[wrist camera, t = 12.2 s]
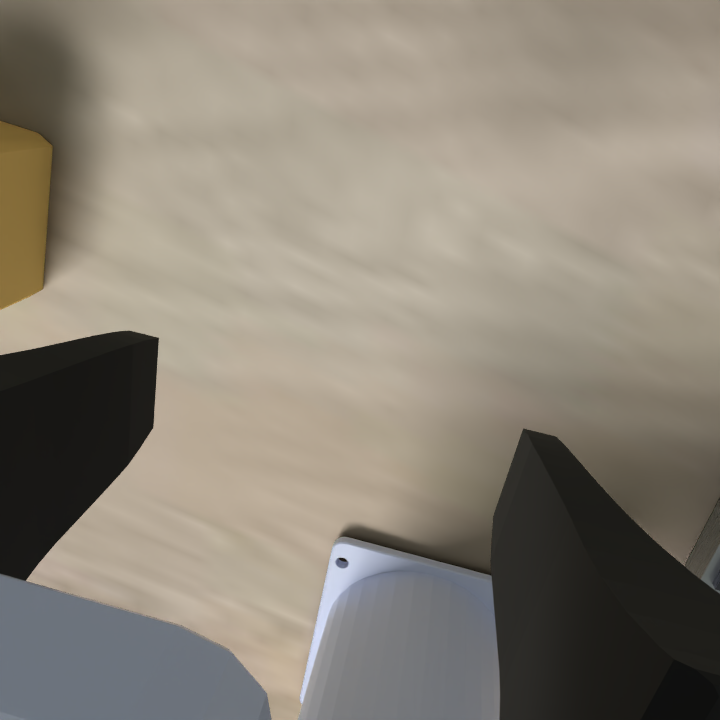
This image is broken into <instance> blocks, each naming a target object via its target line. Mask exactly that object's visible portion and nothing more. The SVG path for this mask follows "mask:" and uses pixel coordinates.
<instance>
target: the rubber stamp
mask: <svg viewBox="0 0 720 720" xmlns="http://www.w3.org/2000/svg"><path fill="white" fill-rule="evenodd" d="M52 150H53V146H52V145H51V144H50V143H49V142H47V141H46V140H45V139H44V138H43V137H42V136H41V135H40V134H39V133H36V132H33V131H30V130H27V129H24V128H21V127H18V126H15V125H12V124H9V123H6V122H3V121H0V310H1V309H4V308H6V307H8V306H10V305H12V304H14V303H17V302H19V301H21V300H23V299H25V298H28V297H30V296H31V295H33V294H35V293H37V292H39V291H40V290H42V289H43V280H44V265H45V251H46V237H47V222H48V208H49V194H50V179H51V165H52Z"/></svg>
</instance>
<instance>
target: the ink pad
mask: <svg viewBox="0 0 720 720" xmlns="http://www.w3.org/2000/svg"><path fill="white" fill-rule="evenodd" d="M685 566H686V568H687V569H688V570H689V571H691V572H692V573H693V574H694V575H696V576H697V577H698V578H700V579H701V580H702V581H703V582H705V583H706V584H707V585H709V586H710V587H711V588H713V589H714V590H715V591H717V592H718V593H720V499H719V501H718V503H717V505H716V507H715V509H714V510H713V512H712V514H711V516H710V518H709V520H708V522H707V524H706V526H705V528H704V530H703V532H702V534H701V536H700V537H699V539H698V541H697V543H696V545H695V547H694V549H693V551H692V553H691V555H690V557H689V559H688V561H687V563H686V564H685Z"/></svg>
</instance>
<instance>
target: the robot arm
mask: <svg viewBox="0 0 720 720" xmlns="http://www.w3.org/2000/svg"><path fill="white" fill-rule="evenodd" d="M158 341H159V338H157V337H153V336H149V335H145V334H141V333H137V332H133V331H119V332H112V333H106V334H101V335H96V336H91V337H86V338H82V339H77V340H72V341H68V342H63V343H59V344H54V345H50V346H45V347H41V348H36V349H31V350H26V351H21V352H15V353H10V354H5V355H0V720H271V715H270V709H269V703H268V697H267V693H266V692H265V691H264V689H263V688H262V687H261V685H260V684H259V683H258V682H257V681H256V680H255V678H254V677H253V676H252V675H251V674H250V673H249V672H248V670H247V669H246V668H245V667H244V666H243V665H242V663H241V662H240V661H239V660H238V659H237V658H236V657H235V655H234V654H233V653H232V652H231V651H230V650H229V649H228V648H226V647H224V646H222V645H220V644H218V643H216V642H214V641H212V640H210V639H208V638H206V637H204V636H202V635H200V634H198V633H196V632H194V631H192V630H190V629H188V628H186V627H184V626H182V625H178V624H175V623H171V622H168V621H164V620H161V619H157V618H154V617H150V616H147V615H143V614H140V613H136V612H133V611H129V610H126V609H122V608H119V607H115V606H112V605H108V604H104V603H101V602H97V601H94V600H90V599H87V598H83V597H80V596H76V595H73V594H69V593H66V592H62V591H59V590H55V589H52V588H48V587H45V586H41V585H38V584H34V583H31V582H27V581H26V579H27V578H28V577H29V575H30V574H31V573H32V571H33V570H34V569H35V567H36V566H37V565H38V563H39V562H40V561H41V560H42V559H43V558H44V556H45V555H46V554H47V553H48V552H49V550H50V549H51V548H52V547H53V546H54V545H55V543H56V542H57V541H58V540H59V539H60V538H61V537H62V536H63V535H64V534H65V533H66V532H67V531H68V530H69V528H70V527H71V526H72V525H73V524H74V523H75V522H76V521H77V520H78V519H79V518H80V517H81V516H82V515H83V513H84V512H85V511H86V510H87V509H88V508H89V507H90V506H91V505H92V504H93V503H94V502H95V501H96V500H97V499H98V497H99V496H100V495H101V494H102V493H103V492H104V491H105V490H106V489H107V488H108V487H109V486H110V484H111V483H112V482H113V481H114V480H115V479H116V478H117V477H118V476H119V475H120V473H121V472H122V471H123V470H124V469H125V468H126V467H127V466H128V464H129V463H130V461H131V460H132V459H133V457H134V456H135V454H136V453H137V451H138V450H139V449H140V447H141V446H142V444H143V443H144V441H145V439H146V438H147V436H148V435H149V433H150V432H151V430H152V429H153V423H154V406H155V390H156V374H157V358H158ZM339 558H345V559H347V562H344V561H341V560H339ZM491 575H492V576H491ZM491 575H487V574H484V573H480V572H476V571H472V570H469V569H465V568H461V567H457V566H454V565H450V564H446V563H443V562H439V561H435V560H431V559H428V558H424V557H420V556H416V555H413V554H409V553H405V552H402V551H398V550H394V549H390V548H387V547H383V546H379V545H375V544H372V543H368V542H364V541H360V540H357V539H353V538H349V537H340V538H338V539H337V540H335V542H334V544H333V547H332V551H331V556H330V561H329V565H328V570H327V574H326V579H325V584H324V588H323V593H322V597H321V602H320V607H319V611H318V616H317V620H316V625H315V630H314V634H313V639H312V643H311V648H310V653H309V657H308V662H307V667H306V671H305V676H304V680H303V685H302V690H301V694H300V702H301V704H302V707H301V710H300V714H299V717H298V720H720V593H718V592H717V591H715V590H714V589H713V588H711V587H710V586H709V585H707V584H706V583H705V582H703V581H702V580H701V579H700V578H698V577H697V576H696V575H694V574H693V573H692V572H691V571H689V570H688V569H687V568H686V567H685V566H683V565H682V564H681V563H680V562H679V561H677V560H676V559H675V558H674V557H673V556H671V555H670V554H669V553H668V552H667V551H665V550H664V549H663V548H662V547H661V546H660V545H659V544H657V543H656V542H655V541H654V540H653V539H652V538H651V537H650V536H649V535H648V534H647V533H646V532H645V531H644V530H643V529H641V528H640V527H639V526H638V525H637V524H636V523H635V522H634V521H633V520H632V519H631V518H630V517H629V516H628V515H627V514H626V513H625V512H624V511H623V510H622V509H621V508H620V507H619V505H618V504H617V503H616V502H615V501H614V500H613V499H612V498H611V497H610V496H609V495H608V494H607V493H606V492H605V490H604V489H603V488H602V487H601V486H600V485H599V484H598V483H597V482H596V480H595V479H594V478H593V477H592V476H591V475H590V474H589V472H588V471H587V470H586V469H585V468H584V467H583V465H582V464H581V463H580V462H579V461H578V460H577V459H576V457H575V456H574V455H573V454H572V453H571V452H570V451H569V449H568V448H567V447H566V446H565V445H564V444H563V443H562V442H561V441H560V440H559V439H558V438H557V437H555V436H551V435H547V434H543V433H539V432H535V431H531V430H527V429H523V431H522V434H521V437H520V440H519V443H518V446H517V449H516V452H515V455H514V458H513V461H512V463H511V466H510V469H509V472H508V475H507V478H506V481H505V484H504V487H503V490H502V493H501V496H500V498H499V501H498V504H497V507H496V510H495V513H494V516H493V529H492V544H491Z"/></svg>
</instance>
